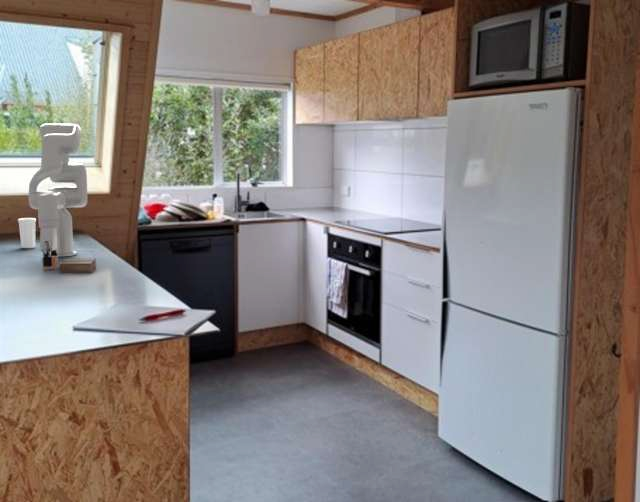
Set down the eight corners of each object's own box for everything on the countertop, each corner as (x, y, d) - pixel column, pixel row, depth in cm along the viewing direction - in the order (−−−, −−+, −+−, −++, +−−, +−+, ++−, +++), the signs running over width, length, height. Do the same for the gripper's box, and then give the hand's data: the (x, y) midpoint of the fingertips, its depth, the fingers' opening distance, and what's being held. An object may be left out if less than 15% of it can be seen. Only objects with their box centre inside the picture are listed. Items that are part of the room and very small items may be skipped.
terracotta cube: (45, 267, 279) (45, 255, 278) (58, 267, 279) (57, 255, 279) (42, 269, 274) (42, 258, 273) (55, 269, 274) (55, 257, 274)
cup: (20, 246, 326) (18, 217, 323) (38, 246, 328) (36, 217, 326) (18, 249, 318) (16, 220, 316) (36, 249, 320) (35, 219, 318)
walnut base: (66, 267, 278) (65, 258, 278) (95, 267, 280) (95, 258, 280) (59, 273, 267) (59, 263, 266) (90, 273, 269) (90, 263, 268)
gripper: (44, 220, 281) (46, 260, 284) (33, 226, 264) (35, 268, 267) (62, 220, 282) (64, 260, 285) (53, 226, 265) (55, 268, 268)
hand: (50, 264), depth 276 cm, fingers open, 9 cm apart
